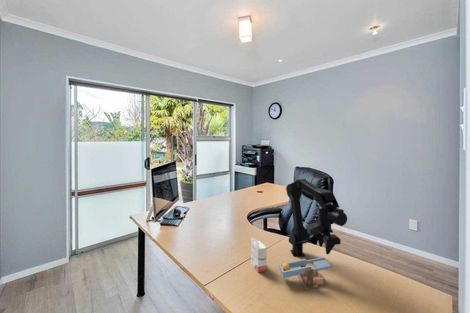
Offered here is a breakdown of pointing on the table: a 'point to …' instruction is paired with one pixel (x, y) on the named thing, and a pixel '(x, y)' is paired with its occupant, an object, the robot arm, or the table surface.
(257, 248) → the ink cartridge box
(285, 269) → the ball
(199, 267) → the table surface
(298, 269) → the lever
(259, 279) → the table surface
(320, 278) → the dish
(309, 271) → the stand
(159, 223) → the table surface
